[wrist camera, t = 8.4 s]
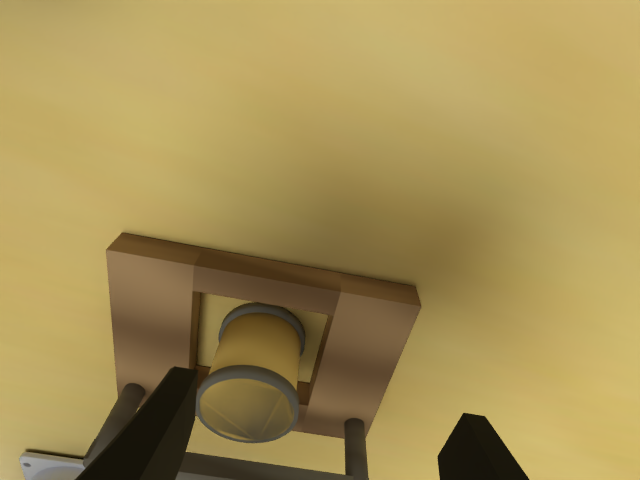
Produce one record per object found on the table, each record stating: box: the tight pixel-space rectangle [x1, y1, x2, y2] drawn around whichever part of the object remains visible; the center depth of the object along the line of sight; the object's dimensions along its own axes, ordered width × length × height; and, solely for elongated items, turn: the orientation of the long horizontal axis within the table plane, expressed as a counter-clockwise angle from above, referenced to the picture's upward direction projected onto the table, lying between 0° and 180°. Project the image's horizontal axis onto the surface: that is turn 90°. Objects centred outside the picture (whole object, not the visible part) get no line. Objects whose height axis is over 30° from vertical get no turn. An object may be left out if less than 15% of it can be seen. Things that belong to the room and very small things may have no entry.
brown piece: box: [83, 233, 421, 480], centre depth 20 cm, size 11×15×6 cm
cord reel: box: [196, 302, 305, 443], centre depth 21 cm, size 5×5×5 cm
